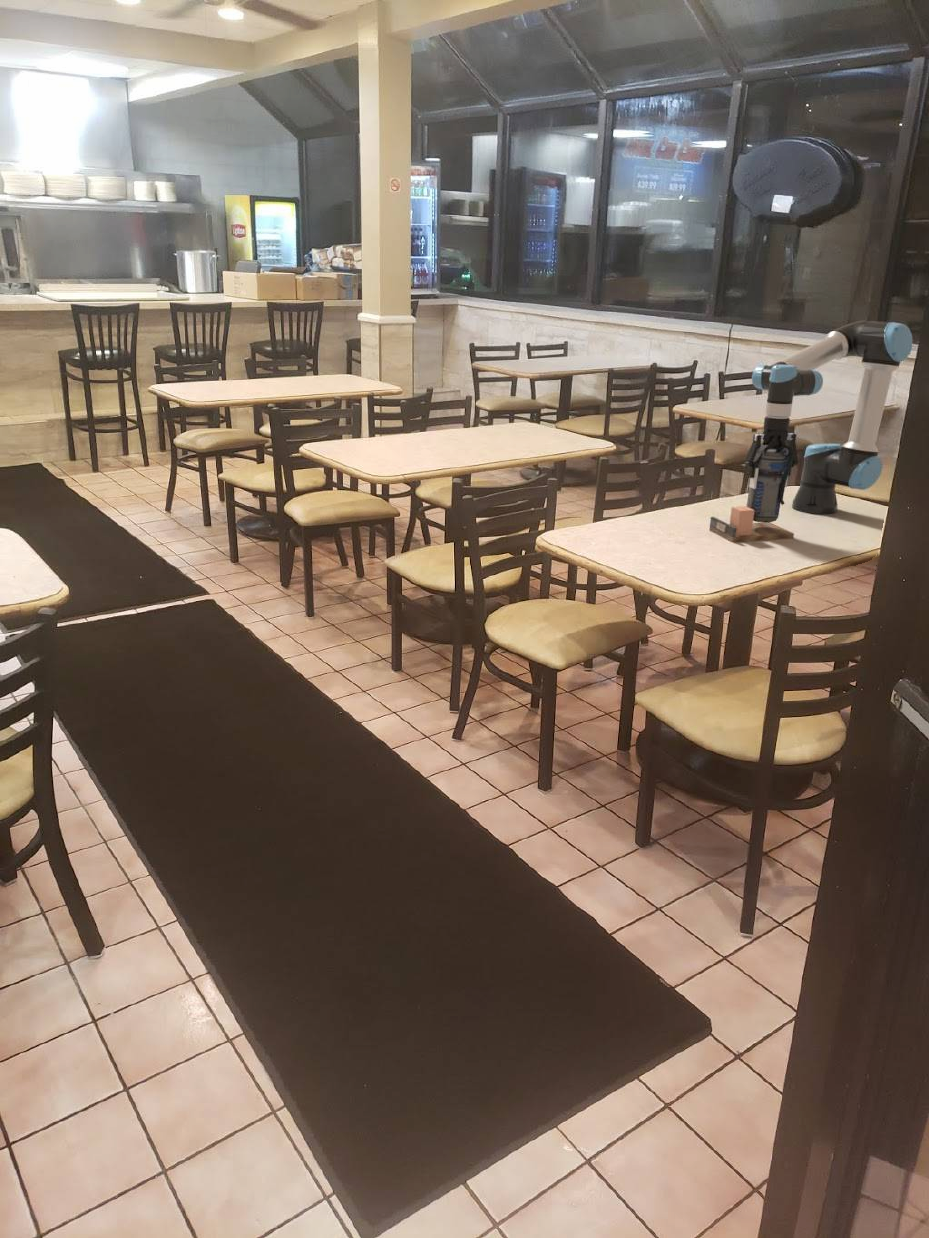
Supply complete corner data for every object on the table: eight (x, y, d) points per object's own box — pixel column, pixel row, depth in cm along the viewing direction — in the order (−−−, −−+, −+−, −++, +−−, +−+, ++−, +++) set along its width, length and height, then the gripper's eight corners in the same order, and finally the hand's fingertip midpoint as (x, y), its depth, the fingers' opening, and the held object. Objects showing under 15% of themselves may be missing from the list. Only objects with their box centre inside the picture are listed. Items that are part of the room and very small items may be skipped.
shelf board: (768, 526, 315) (770, 513, 314) (793, 538, 303) (795, 524, 301) (708, 530, 309) (710, 516, 308) (731, 542, 297) (732, 528, 295)
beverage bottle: (776, 526, 298) (788, 447, 289) (737, 518, 306) (748, 440, 297) (790, 521, 305) (802, 443, 296) (752, 513, 313) (762, 437, 305)
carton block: (742, 530, 304) (745, 506, 301) (751, 534, 300) (754, 510, 297) (728, 531, 303) (731, 507, 300) (737, 535, 298) (740, 510, 296)
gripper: (802, 414, 300) (792, 483, 308) (738, 415, 294) (729, 486, 302) (816, 417, 293) (806, 488, 301) (751, 419, 287) (742, 491, 295)
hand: (767, 487), depth 302 cm, fingers closed on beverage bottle, 10 cm apart
